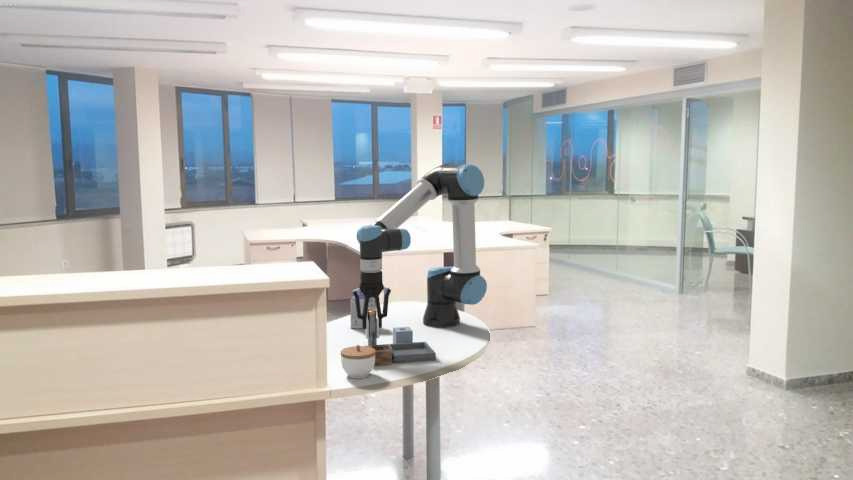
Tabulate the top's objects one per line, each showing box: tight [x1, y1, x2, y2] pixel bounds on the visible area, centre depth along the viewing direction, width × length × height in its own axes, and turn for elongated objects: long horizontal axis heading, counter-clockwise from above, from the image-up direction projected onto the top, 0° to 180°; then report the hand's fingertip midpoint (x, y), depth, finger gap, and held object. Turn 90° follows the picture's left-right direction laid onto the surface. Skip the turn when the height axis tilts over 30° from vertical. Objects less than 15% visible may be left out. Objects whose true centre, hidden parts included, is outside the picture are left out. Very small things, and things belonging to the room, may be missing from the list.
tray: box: [386, 341, 437, 364], centre depth 221 cm, size 14×14×2 cm
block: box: [392, 326, 414, 344], centre depth 233 cm, size 6×6×6 cm
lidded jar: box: [340, 344, 376, 379], centre depth 200 cm, size 11×11×9 cm
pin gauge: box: [367, 310, 378, 346], centre depth 225 cm, size 3×3×14 cm
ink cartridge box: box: [349, 291, 377, 329], centre depth 258 cm, size 10×6×14 cm, turn 91°
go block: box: [366, 343, 393, 367], centre depth 214 cm, size 8×8×4 cm
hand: (372, 337), depth 225 cm, fingers closed on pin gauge, 3 cm apart
